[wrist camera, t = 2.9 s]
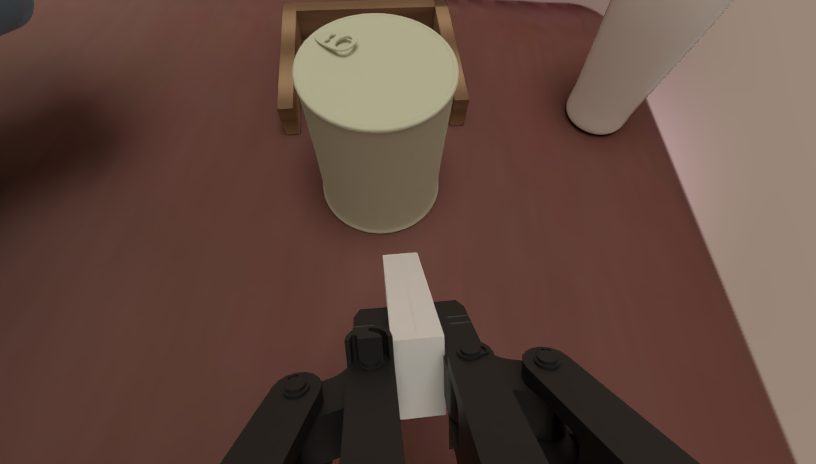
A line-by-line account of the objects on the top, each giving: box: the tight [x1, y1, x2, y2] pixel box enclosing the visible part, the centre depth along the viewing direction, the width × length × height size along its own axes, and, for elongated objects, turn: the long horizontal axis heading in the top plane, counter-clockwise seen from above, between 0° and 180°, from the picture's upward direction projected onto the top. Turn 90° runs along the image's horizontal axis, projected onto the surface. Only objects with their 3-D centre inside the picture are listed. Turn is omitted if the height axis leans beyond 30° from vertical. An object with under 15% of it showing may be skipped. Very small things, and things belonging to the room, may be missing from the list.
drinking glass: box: [566, 0, 733, 135], centre depth 29 cm, size 7×7×15 cm
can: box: [292, 13, 459, 234], centre depth 26 cm, size 9×9×12 cm
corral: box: [277, 0, 469, 135], centre depth 36 cm, size 13×15×3 cm
